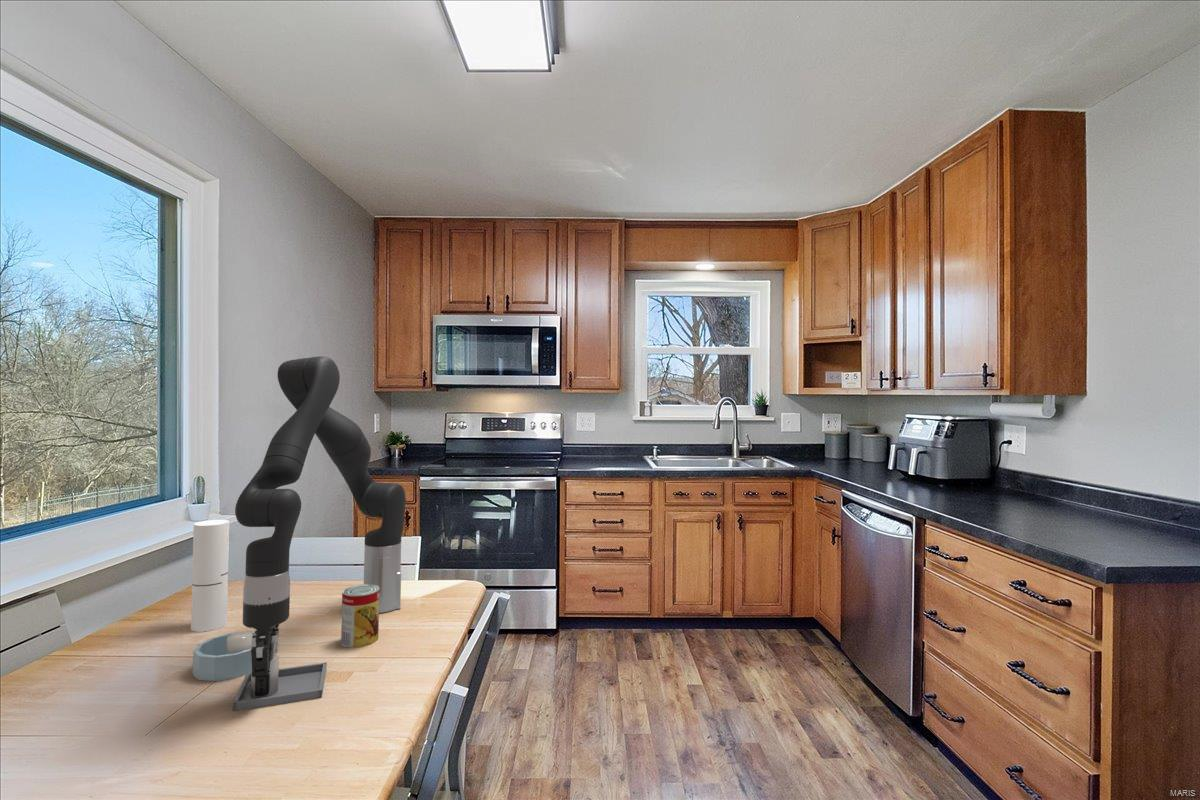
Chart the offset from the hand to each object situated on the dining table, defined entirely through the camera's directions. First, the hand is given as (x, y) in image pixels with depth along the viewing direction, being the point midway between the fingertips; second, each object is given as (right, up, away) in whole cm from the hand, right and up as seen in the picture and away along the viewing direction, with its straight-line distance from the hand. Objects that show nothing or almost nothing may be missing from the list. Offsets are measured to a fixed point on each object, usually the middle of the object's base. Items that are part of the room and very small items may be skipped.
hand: (264, 687), depth 105 cm
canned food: (+8, -2, +24) cm, 25 cm away
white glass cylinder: (-11, 0, +10) cm, 15 cm away
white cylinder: (0, -1, 0) cm, 1 cm away
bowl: (-13, -1, +10) cm, 17 cm away
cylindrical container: (-32, -1, +32) cm, 45 cm away
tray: (+3, -1, +2) cm, 3 cm away
